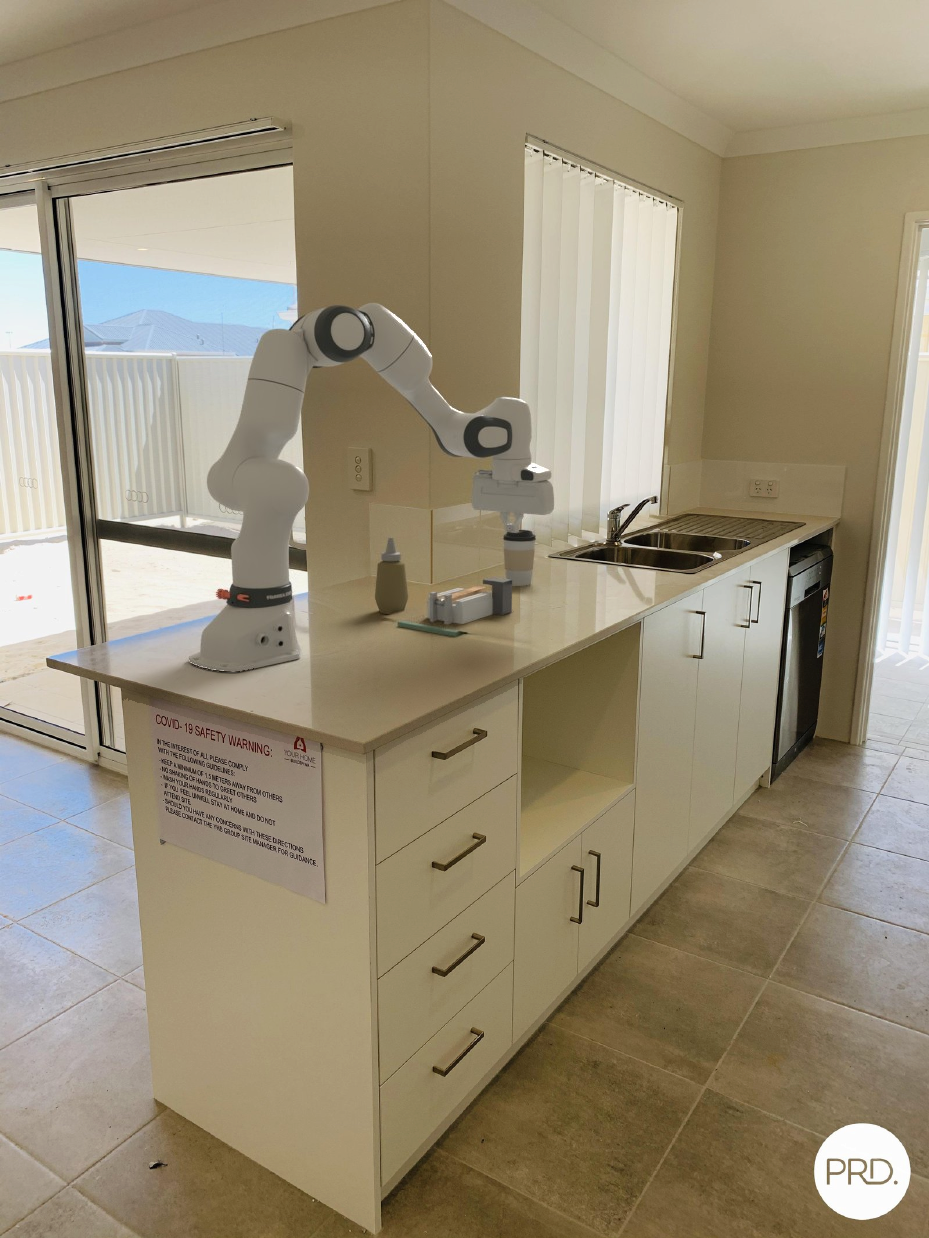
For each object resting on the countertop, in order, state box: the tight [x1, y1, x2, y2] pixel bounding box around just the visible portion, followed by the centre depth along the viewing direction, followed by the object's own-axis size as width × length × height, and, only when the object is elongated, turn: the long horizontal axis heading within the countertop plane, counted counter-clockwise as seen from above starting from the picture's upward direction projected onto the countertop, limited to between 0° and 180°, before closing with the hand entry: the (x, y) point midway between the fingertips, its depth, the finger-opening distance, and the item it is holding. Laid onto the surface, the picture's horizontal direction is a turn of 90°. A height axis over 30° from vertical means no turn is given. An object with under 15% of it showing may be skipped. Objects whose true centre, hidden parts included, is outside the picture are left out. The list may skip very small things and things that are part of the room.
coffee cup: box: [502, 529, 537, 587], centre depth 259 cm, size 9×9×15 cm
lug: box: [482, 576, 513, 616], centre depth 221 cm, size 4×6×8 cm
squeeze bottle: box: [374, 537, 409, 615], centre depth 224 cm, size 8×8×18 cm
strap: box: [435, 585, 487, 606], centre depth 217 cm, size 17×3×1 cm, turn 145°
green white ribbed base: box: [397, 587, 508, 638], centre depth 217 cm, size 26×16×8 cm, turn 145°
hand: (511, 531), depth 215 cm, fingers closed
